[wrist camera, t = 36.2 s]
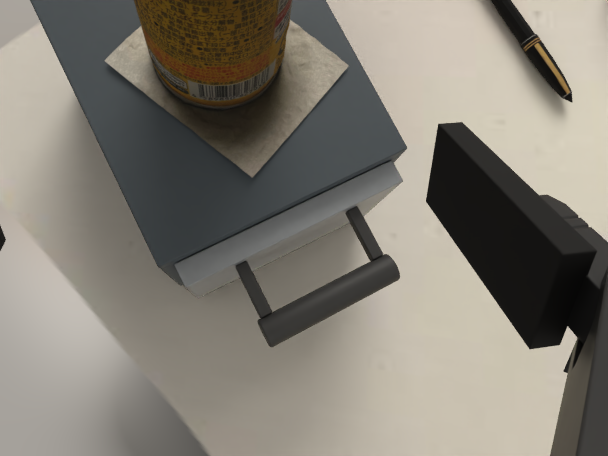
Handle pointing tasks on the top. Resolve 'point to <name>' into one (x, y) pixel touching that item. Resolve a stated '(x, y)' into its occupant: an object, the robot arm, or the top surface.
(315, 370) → the top surface
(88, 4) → the cabinet
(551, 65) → the fountain pen
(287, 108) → the condiment
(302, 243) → the drawer
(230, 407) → the top surface
